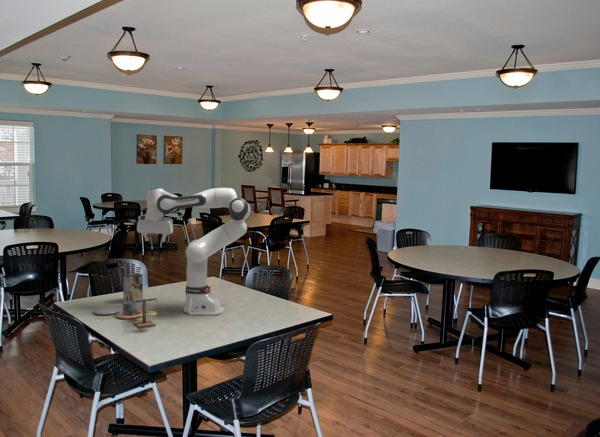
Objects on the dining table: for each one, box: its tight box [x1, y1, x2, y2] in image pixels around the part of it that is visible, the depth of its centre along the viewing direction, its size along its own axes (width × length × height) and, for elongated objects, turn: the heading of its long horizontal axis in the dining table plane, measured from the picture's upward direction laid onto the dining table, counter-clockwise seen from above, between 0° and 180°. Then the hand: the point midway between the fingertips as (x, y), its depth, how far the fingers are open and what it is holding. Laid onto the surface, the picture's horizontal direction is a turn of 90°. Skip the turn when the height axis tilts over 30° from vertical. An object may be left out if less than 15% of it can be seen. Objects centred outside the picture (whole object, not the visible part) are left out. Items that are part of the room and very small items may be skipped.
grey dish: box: [93, 306, 121, 316], centre depth 280 cm, size 13×13×1 cm
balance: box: [132, 297, 158, 330], centre depth 258 cm, size 23×8×15 cm, turn 37°
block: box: [122, 302, 137, 316], centre depth 273 cm, size 5×5×6 cm
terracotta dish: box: [116, 311, 141, 320], centre depth 274 cm, size 13×13×1 cm
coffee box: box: [122, 272, 144, 303], centre depth 303 cm, size 9×6×16 cm
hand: (155, 241), depth 293 cm, fingers open, 8 cm apart
